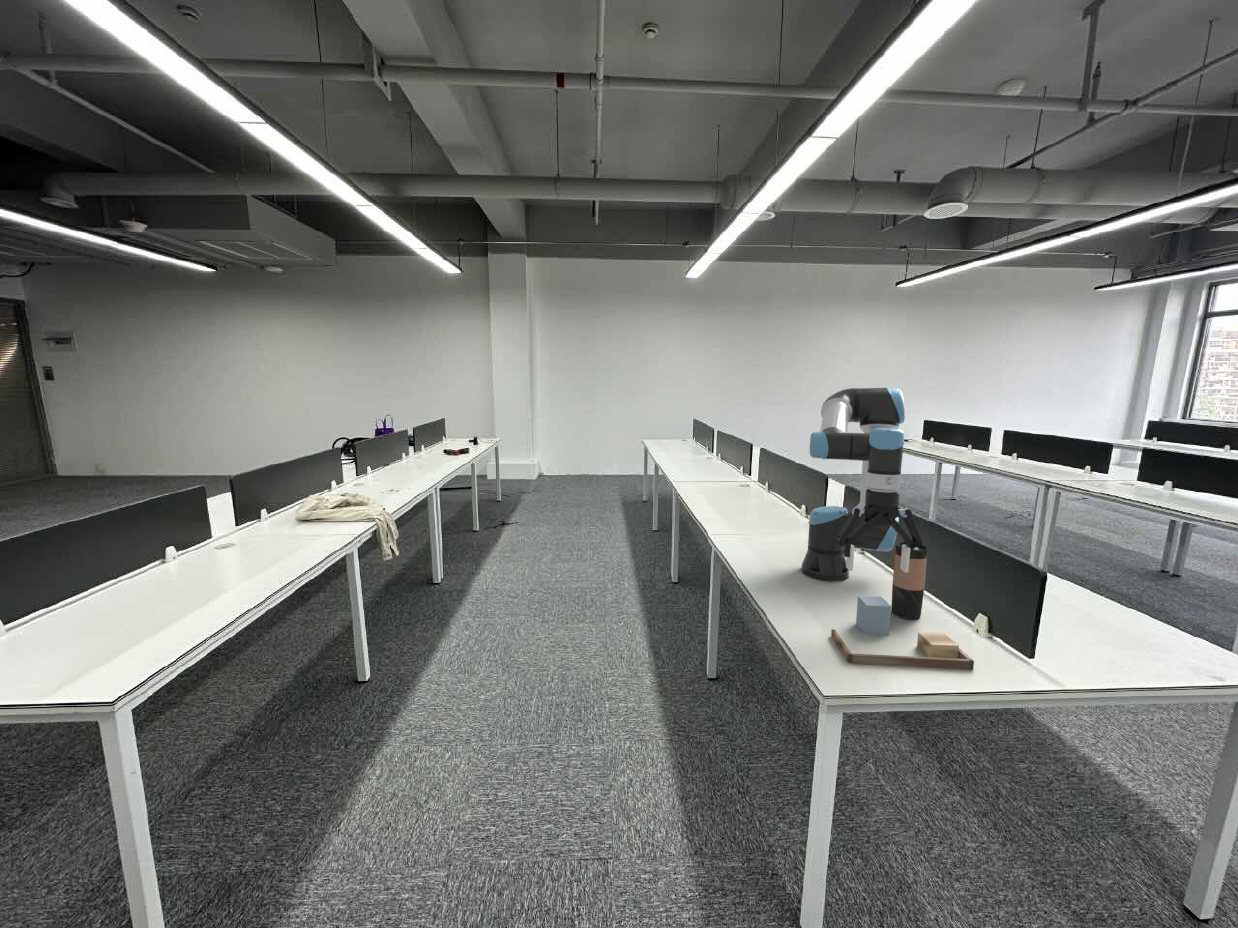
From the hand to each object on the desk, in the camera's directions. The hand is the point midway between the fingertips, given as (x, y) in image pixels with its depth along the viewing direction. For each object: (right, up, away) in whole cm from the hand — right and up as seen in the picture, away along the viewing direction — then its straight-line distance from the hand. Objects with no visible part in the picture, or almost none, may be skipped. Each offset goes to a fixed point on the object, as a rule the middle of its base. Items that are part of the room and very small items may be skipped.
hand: (876, 569), depth 125 cm
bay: (0, -18, -8) cm, 20 cm away
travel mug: (+14, -15, +11) cm, 24 cm away
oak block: (+9, -18, -9) cm, 23 cm away
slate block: (0, -16, +3) cm, 17 cm away
